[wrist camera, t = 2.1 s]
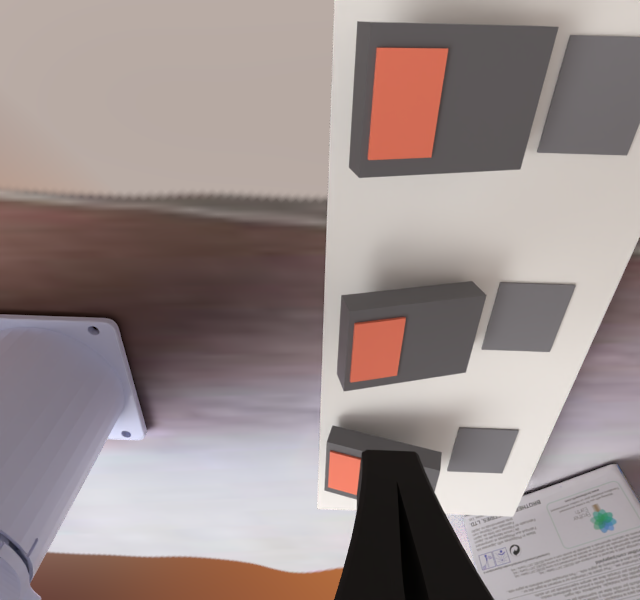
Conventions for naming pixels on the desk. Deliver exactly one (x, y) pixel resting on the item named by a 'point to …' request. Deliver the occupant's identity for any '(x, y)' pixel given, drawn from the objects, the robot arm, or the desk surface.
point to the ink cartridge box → (563, 542)
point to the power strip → (491, 249)
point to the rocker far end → (347, 457)
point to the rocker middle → (407, 334)
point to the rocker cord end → (445, 96)
